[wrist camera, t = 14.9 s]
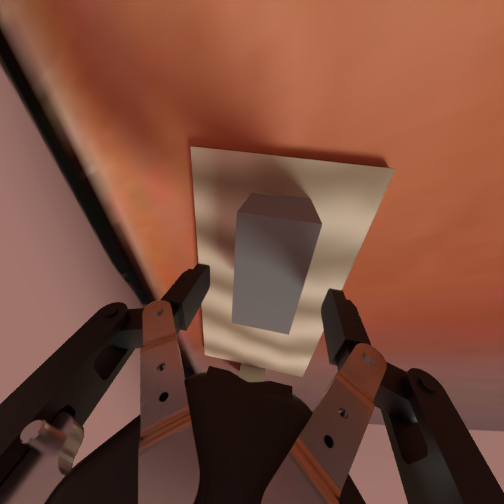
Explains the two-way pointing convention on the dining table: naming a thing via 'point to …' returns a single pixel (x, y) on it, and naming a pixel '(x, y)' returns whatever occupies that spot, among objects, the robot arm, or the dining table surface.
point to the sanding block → (272, 259)
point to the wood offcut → (251, 373)
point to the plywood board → (324, 257)
